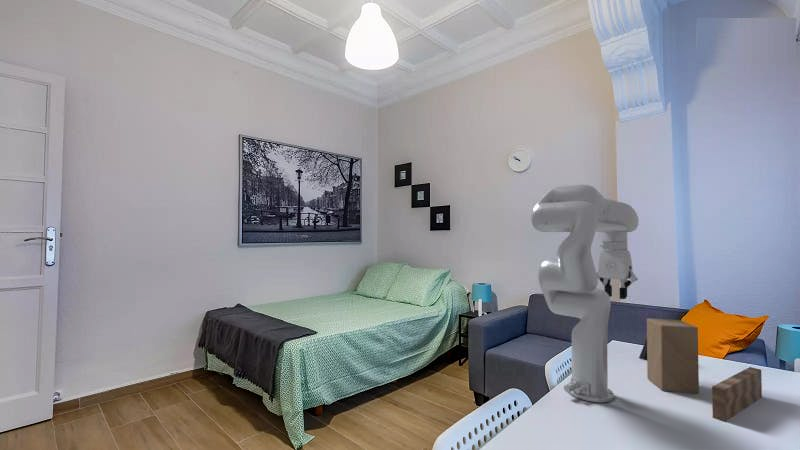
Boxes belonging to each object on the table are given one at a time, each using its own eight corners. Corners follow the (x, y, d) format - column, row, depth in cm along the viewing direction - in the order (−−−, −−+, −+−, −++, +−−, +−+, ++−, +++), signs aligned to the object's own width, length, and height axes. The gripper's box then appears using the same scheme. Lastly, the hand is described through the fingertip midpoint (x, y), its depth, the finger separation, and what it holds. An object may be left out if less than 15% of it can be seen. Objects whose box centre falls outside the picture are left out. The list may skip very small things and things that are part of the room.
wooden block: (699, 394, 108) (698, 327, 109) (662, 391, 110) (661, 325, 111) (681, 381, 118) (680, 319, 119) (646, 378, 120) (646, 317, 121)
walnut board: (724, 421, 92) (724, 389, 92) (712, 417, 94) (712, 386, 95) (761, 397, 107) (761, 369, 107) (750, 393, 109) (749, 367, 109)
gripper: (586, 246, 135) (586, 295, 135) (634, 247, 121) (635, 302, 120) (598, 245, 139) (598, 293, 139) (646, 247, 125) (646, 300, 124)
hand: (615, 297), depth 129 cm, fingers open, 4 cm apart
